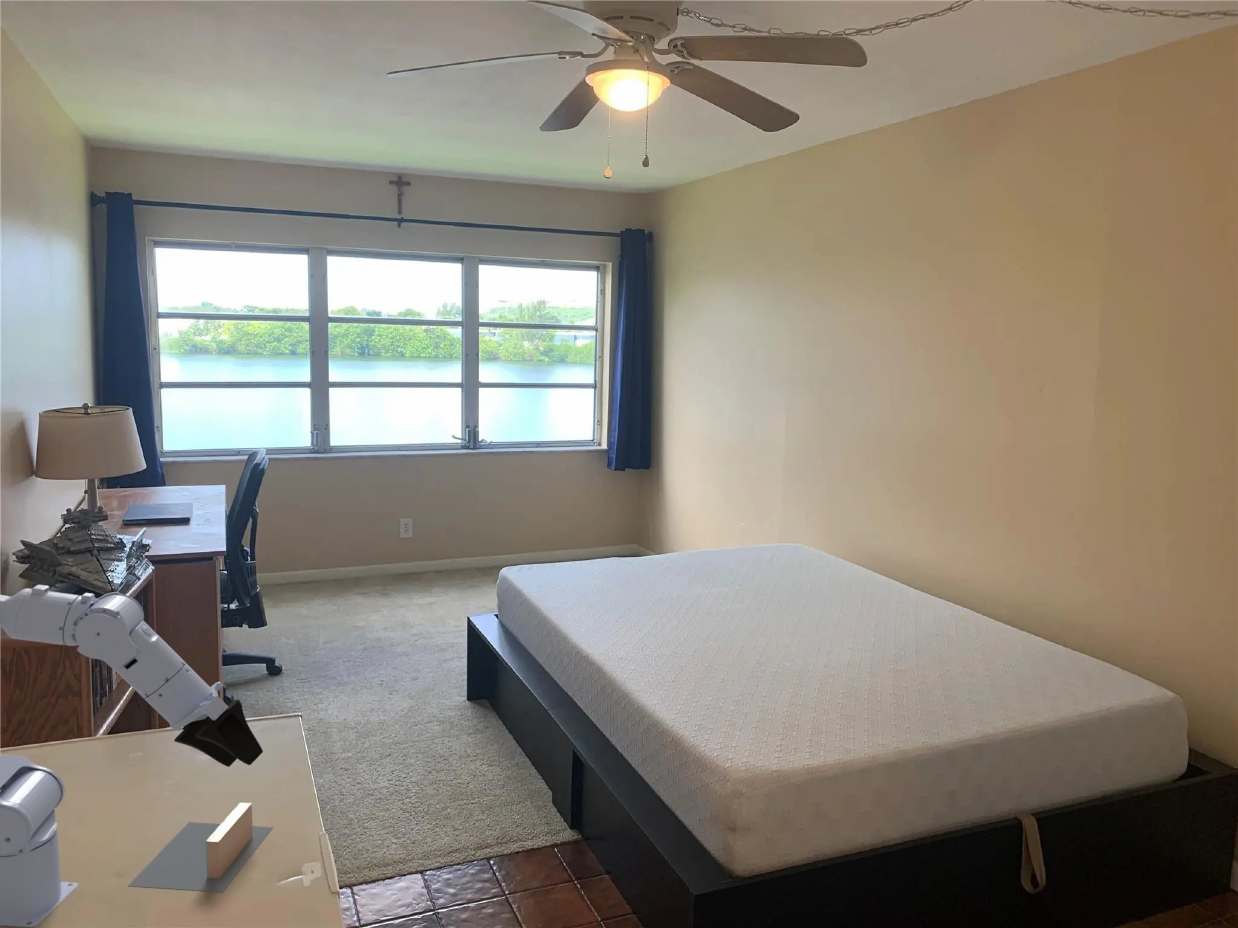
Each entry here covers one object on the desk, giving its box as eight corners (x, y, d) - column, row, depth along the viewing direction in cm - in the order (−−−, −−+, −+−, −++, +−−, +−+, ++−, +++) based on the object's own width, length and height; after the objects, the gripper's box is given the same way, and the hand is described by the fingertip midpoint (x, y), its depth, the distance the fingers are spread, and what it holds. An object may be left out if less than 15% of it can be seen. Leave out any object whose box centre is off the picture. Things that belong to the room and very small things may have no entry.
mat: (128, 888, 107) (127, 885, 107) (189, 824, 120) (188, 821, 120) (222, 894, 106) (222, 891, 106) (273, 829, 120) (273, 827, 120)
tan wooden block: (207, 877, 109) (205, 840, 108) (241, 836, 118) (240, 802, 117) (219, 878, 109) (218, 841, 108) (252, 836, 117) (251, 802, 117)
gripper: (211, 648, 99) (291, 730, 103) (175, 662, 110) (249, 736, 113) (160, 694, 95) (246, 778, 98) (128, 704, 105) (207, 780, 108)
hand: (245, 759), depth 105 cm, fingers open, 7 cm apart
